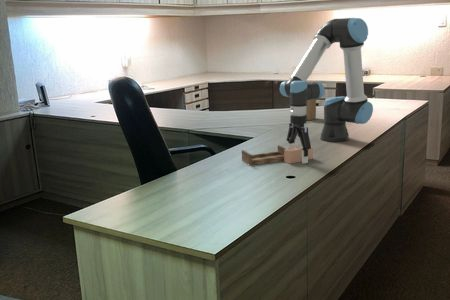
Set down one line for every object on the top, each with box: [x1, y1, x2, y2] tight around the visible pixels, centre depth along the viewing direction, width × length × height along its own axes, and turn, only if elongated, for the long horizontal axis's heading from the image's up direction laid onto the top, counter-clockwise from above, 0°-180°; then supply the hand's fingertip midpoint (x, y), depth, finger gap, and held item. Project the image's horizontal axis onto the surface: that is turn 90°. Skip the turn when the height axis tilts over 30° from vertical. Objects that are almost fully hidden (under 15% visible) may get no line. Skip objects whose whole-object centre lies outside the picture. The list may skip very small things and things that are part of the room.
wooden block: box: [306, 99, 317, 121], centre depth 324 cm, size 10×10×20 cm
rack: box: [241, 145, 287, 166], centre depth 231 cm, size 20×10×5 cm, turn 110°
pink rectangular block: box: [283, 145, 314, 164], centre depth 229 cm, size 14×4×6 cm, turn 121°
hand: (298, 159), depth 230 cm, fingers open, 12 cm apart
